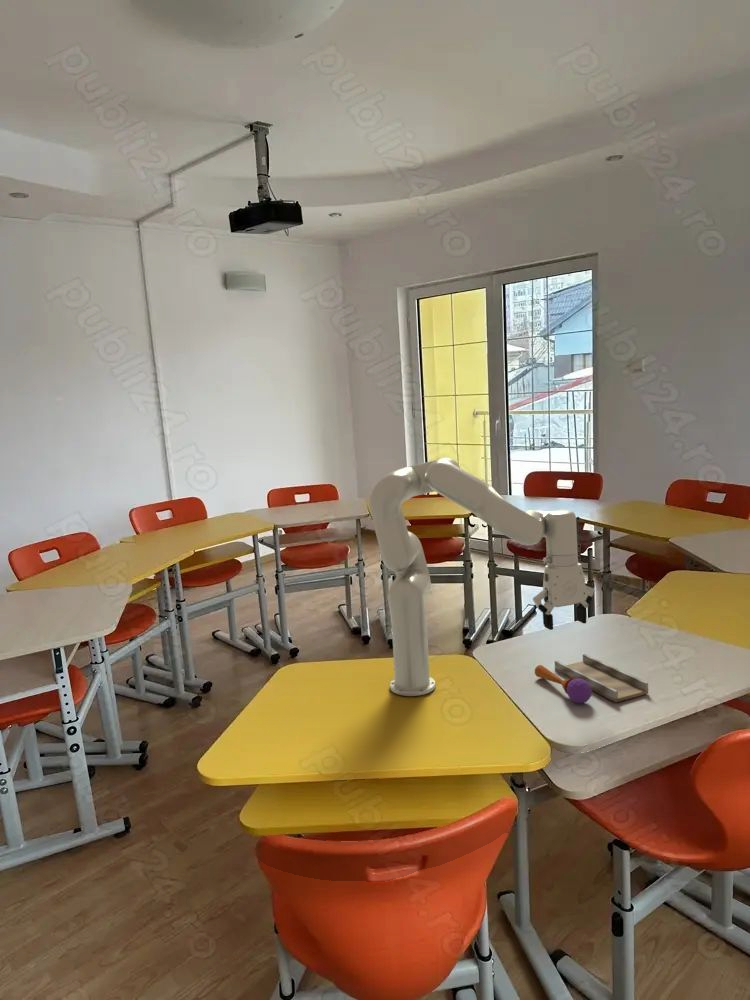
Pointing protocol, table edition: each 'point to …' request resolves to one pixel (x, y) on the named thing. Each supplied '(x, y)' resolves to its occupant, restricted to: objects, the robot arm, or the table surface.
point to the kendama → (567, 685)
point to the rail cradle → (604, 679)
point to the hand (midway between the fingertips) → (565, 625)
